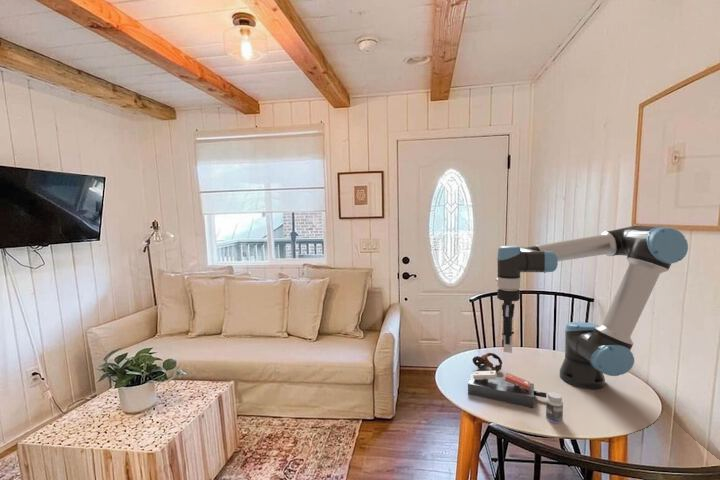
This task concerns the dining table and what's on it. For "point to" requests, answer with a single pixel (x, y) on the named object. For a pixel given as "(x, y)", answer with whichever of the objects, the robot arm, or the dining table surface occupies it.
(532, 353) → the dining table surface
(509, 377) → the rocker
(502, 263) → the robot arm
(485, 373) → the rocker
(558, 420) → the pill bottle
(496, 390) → the rocker switch panel
